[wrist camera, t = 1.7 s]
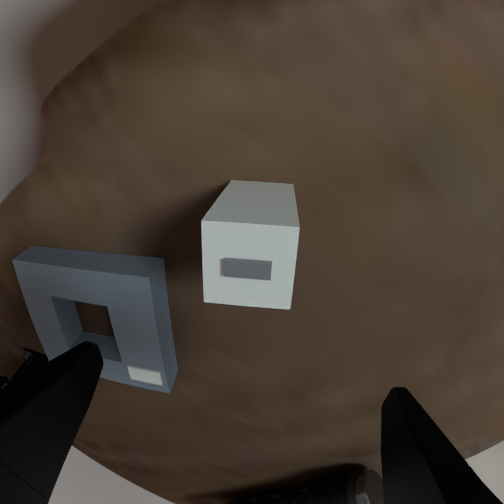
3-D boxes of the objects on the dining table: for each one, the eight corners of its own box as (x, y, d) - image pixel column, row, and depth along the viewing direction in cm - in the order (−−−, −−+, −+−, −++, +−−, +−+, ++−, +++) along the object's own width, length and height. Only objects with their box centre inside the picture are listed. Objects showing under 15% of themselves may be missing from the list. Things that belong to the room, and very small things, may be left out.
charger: (230, 237, 22) (203, 304, 14) (231, 180, 20) (199, 222, 13) (288, 241, 21) (290, 312, 14) (293, 184, 20) (299, 229, 12)
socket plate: (62, 344, 29) (48, 362, 26) (31, 245, 24) (10, 260, 21) (178, 370, 28) (169, 394, 25) (163, 258, 23) (148, 278, 20)
